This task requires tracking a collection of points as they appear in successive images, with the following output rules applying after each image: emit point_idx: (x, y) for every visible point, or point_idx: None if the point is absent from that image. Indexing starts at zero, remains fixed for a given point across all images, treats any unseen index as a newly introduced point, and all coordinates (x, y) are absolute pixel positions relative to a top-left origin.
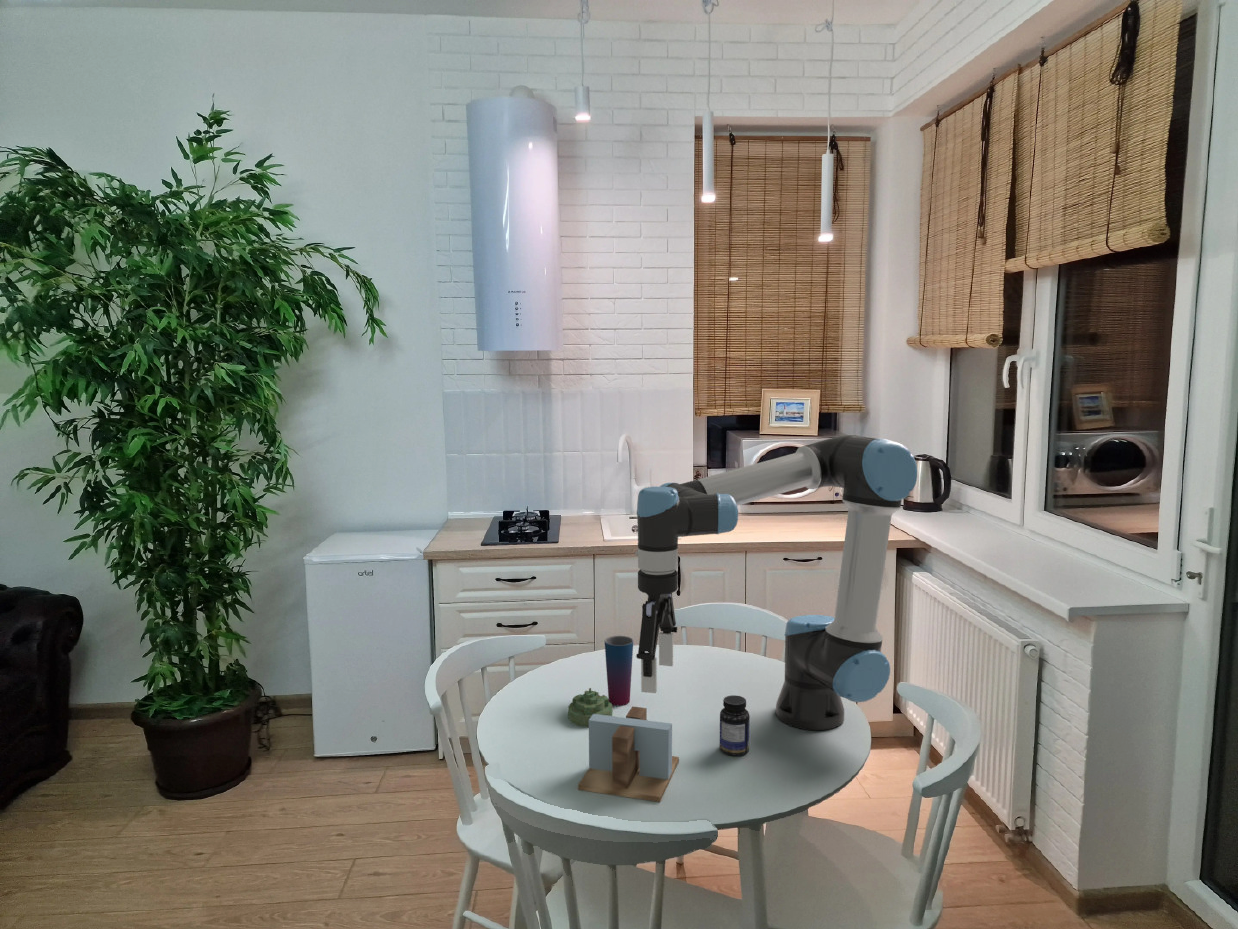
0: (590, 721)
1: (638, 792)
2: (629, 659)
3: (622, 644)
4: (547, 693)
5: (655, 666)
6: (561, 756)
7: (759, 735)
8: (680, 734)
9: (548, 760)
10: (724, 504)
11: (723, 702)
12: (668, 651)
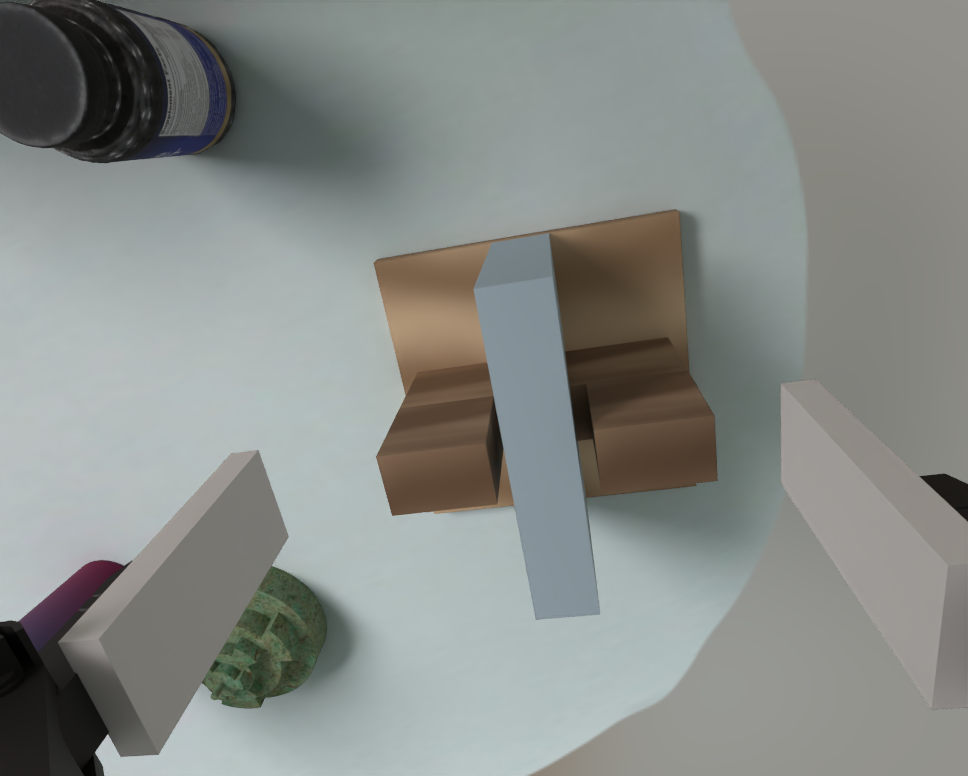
0: (598, 604)
1: (676, 295)
2: None
3: None
4: (200, 763)
5: (944, 505)
6: (522, 593)
7: None
8: (192, 330)
9: None
10: None
11: (75, 140)
12: (213, 547)
